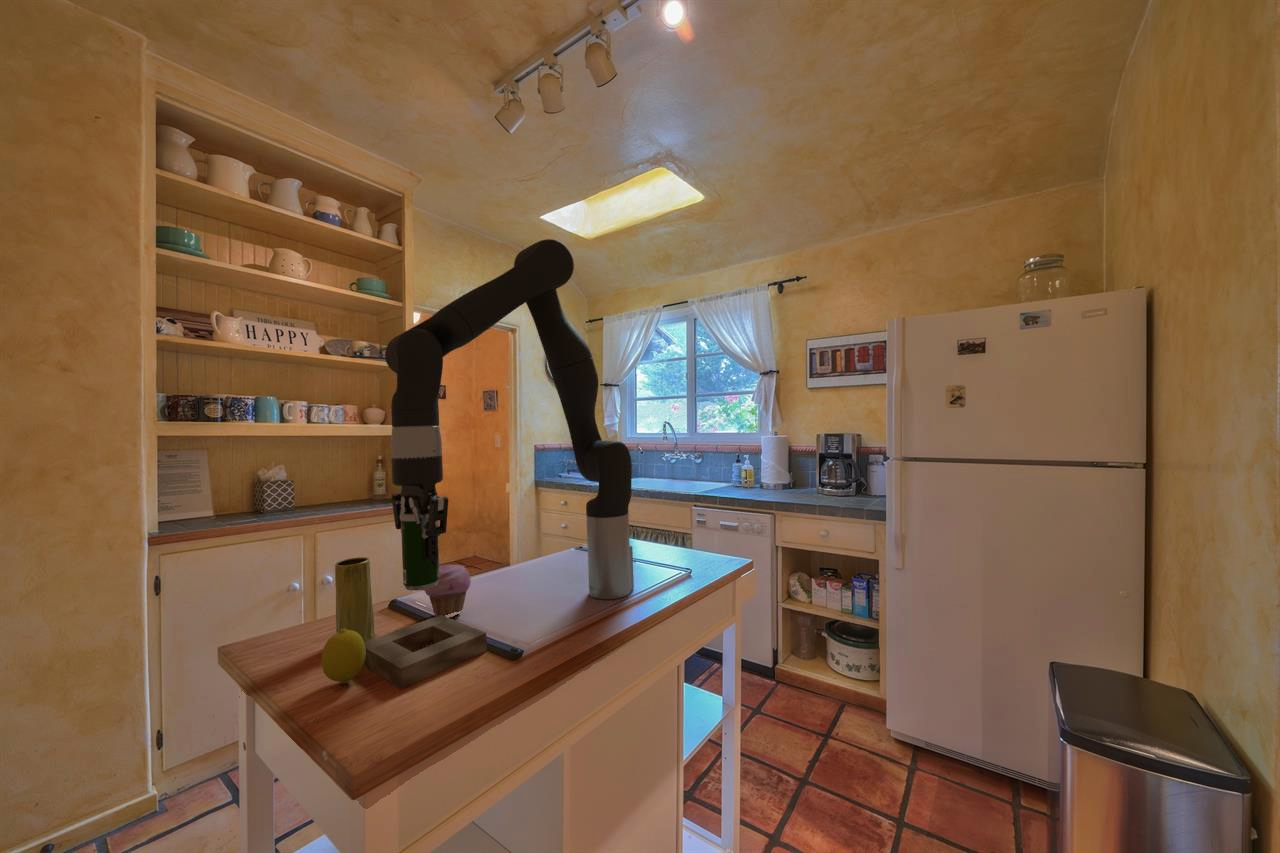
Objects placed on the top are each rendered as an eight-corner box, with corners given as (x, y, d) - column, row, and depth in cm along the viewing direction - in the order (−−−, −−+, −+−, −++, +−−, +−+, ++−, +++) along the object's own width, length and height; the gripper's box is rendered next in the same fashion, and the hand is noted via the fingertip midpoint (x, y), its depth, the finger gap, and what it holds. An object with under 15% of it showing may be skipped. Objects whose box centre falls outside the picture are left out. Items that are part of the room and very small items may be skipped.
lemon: (349, 671, 75) (347, 619, 75) (375, 676, 73) (373, 623, 73) (313, 689, 69) (311, 634, 69) (340, 696, 67) (338, 639, 67)
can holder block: (441, 631, 88) (440, 614, 88) (486, 651, 80) (486, 632, 80) (359, 662, 77) (358, 644, 77) (401, 689, 69) (401, 668, 69)
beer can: (410, 593, 75) (407, 516, 75) (398, 586, 78) (395, 512, 78) (445, 584, 78) (442, 511, 78) (432, 578, 82) (429, 507, 82)
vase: (337, 653, 81) (334, 568, 81) (332, 641, 86) (329, 561, 85) (378, 642, 85) (375, 560, 85) (371, 631, 89) (368, 554, 89)
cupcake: (420, 614, 97) (418, 564, 97) (464, 603, 102) (462, 556, 102) (431, 628, 90) (429, 574, 90) (477, 616, 95) (476, 565, 95)
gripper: (462, 453, 77) (466, 559, 77) (417, 452, 86) (420, 547, 86) (416, 456, 71) (421, 571, 71) (373, 455, 80) (376, 557, 80)
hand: (420, 558), depth 78 cm, fingers closed on beer can, 5 cm apart
